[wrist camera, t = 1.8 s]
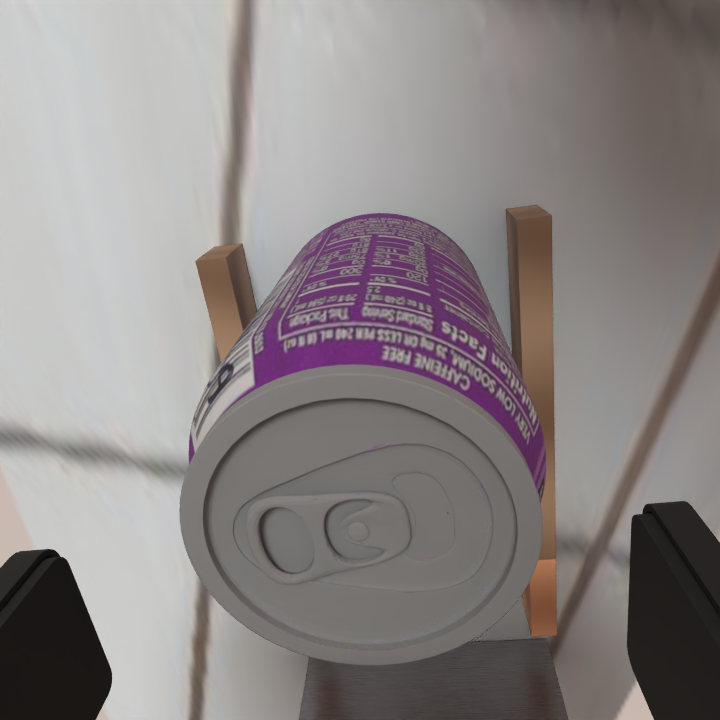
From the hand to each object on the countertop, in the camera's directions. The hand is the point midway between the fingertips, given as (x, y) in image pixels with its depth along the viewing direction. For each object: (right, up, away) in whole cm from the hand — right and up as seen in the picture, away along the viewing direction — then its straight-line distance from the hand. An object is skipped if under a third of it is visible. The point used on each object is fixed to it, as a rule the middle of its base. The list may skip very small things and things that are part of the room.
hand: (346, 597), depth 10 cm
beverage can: (+1, +6, +11) cm, 13 cm away
